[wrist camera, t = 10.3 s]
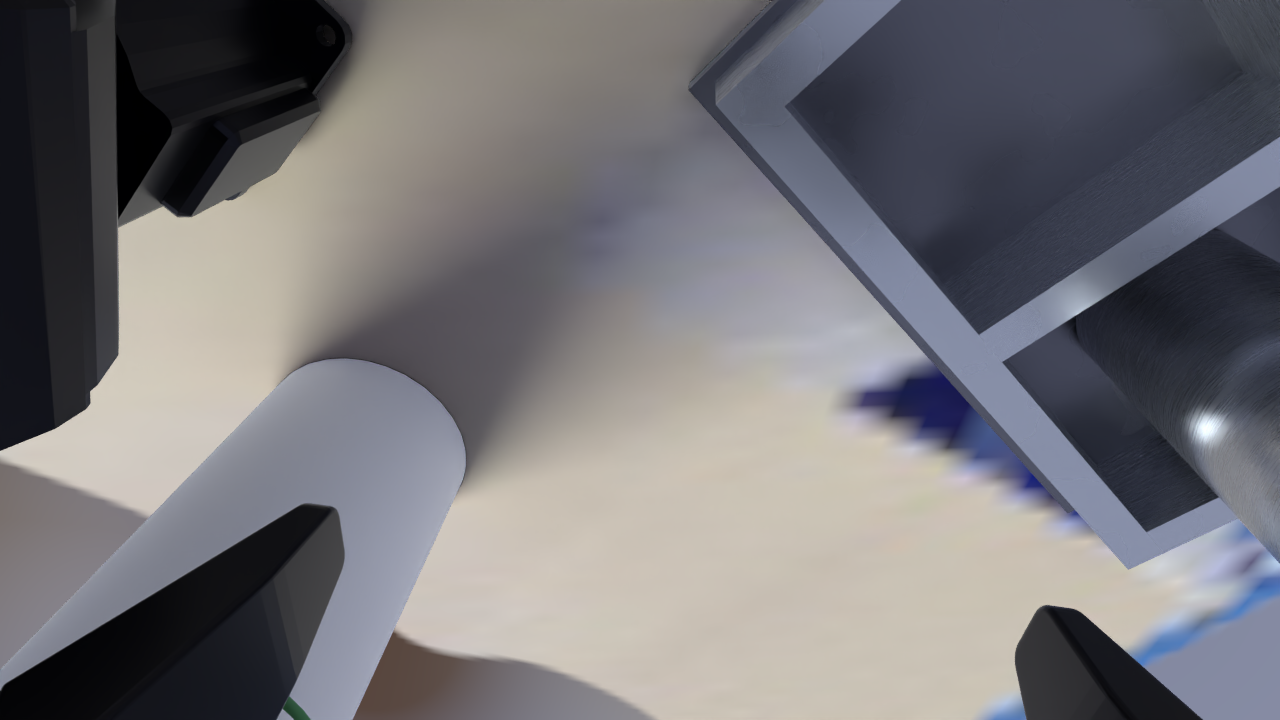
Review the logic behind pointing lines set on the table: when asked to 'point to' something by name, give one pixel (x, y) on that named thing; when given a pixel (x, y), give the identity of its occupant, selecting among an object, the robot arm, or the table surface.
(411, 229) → the table surface
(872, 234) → the gray divided tray
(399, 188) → the table surface
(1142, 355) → the shiny gray cylinder
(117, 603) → the cylindrical container
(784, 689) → the table surface
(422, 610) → the table surface
